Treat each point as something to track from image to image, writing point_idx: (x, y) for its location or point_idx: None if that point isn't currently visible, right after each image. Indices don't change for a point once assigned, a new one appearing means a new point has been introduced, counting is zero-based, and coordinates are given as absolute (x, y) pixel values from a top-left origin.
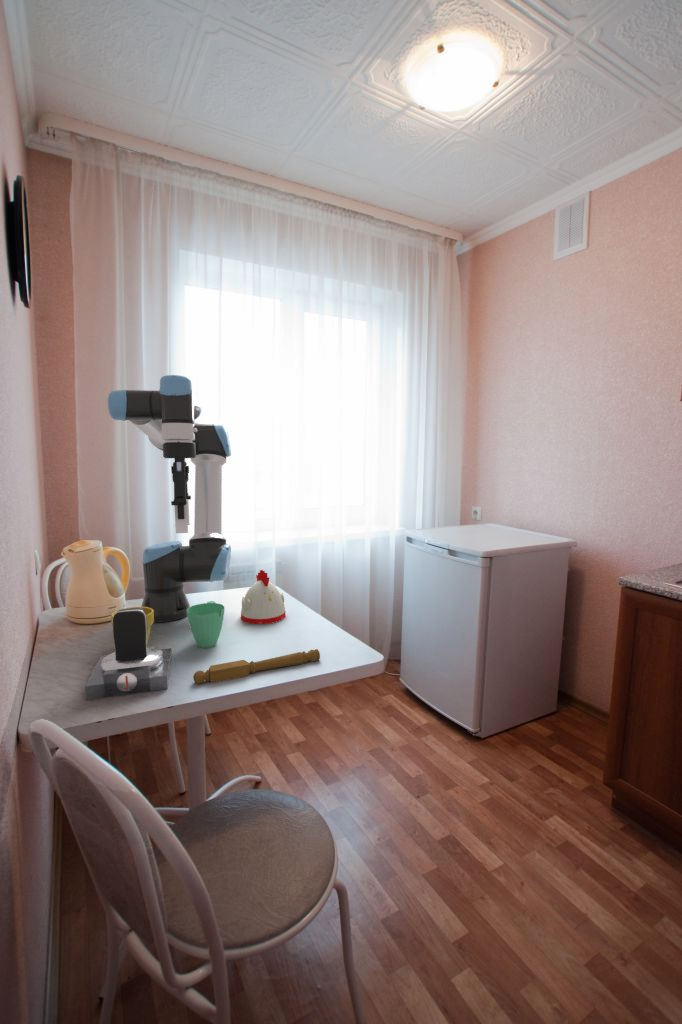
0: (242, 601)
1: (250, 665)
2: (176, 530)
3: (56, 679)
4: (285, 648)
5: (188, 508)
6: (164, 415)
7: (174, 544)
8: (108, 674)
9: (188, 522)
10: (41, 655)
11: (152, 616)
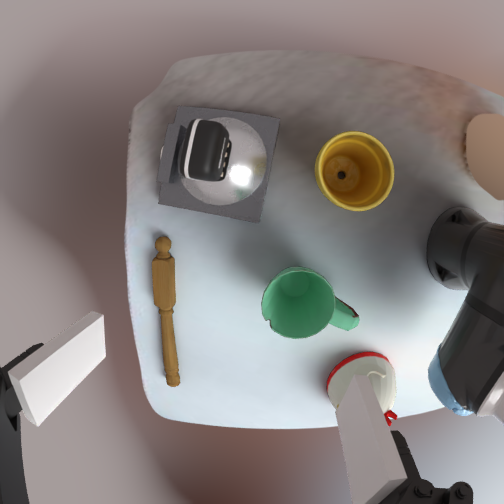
0: (379, 370)
1: (161, 309)
2: (85, 318)
3: (268, 73)
4: (221, 367)
5: (348, 473)
6: None
7: None
8: (167, 129)
9: (337, 418)
10: (368, 60)
11: (337, 205)
